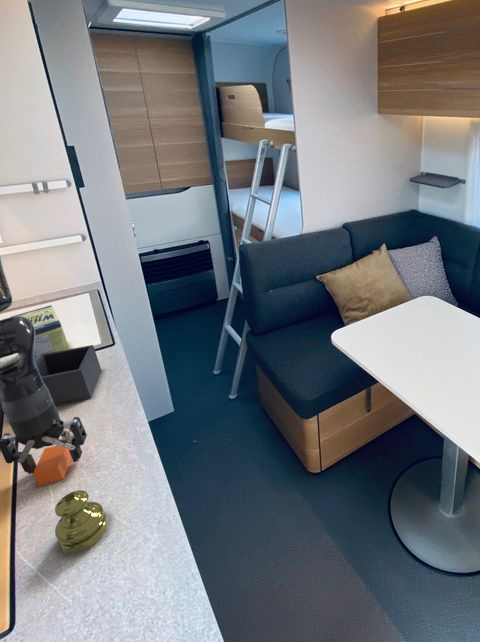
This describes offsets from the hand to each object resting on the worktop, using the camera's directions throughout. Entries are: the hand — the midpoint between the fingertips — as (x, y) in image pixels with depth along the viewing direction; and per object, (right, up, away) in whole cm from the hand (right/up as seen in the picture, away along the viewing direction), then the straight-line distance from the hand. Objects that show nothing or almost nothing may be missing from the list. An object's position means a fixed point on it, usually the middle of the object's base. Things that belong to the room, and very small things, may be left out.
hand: (55, 464), depth 90 cm
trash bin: (-15, +8, +25) cm, 30 cm away
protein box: (-31, +13, +38) cm, 50 cm away
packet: (0, -2, +1) cm, 2 cm away
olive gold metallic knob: (+16, -7, -13) cm, 22 cm away
